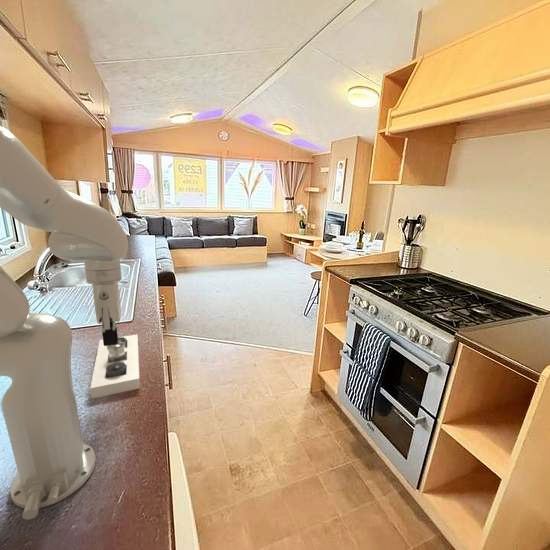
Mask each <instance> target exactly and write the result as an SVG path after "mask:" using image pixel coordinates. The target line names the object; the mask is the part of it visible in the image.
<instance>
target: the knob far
mask: <svg viewBox="0 0 550 550" xmlns="http://www.w3.org/2000/svg"><path fill="white" fill-rule="evenodd" d="M118 342H124V343H125V347H124V348H126V338H124V337H123V336H118Z"/></svg>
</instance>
